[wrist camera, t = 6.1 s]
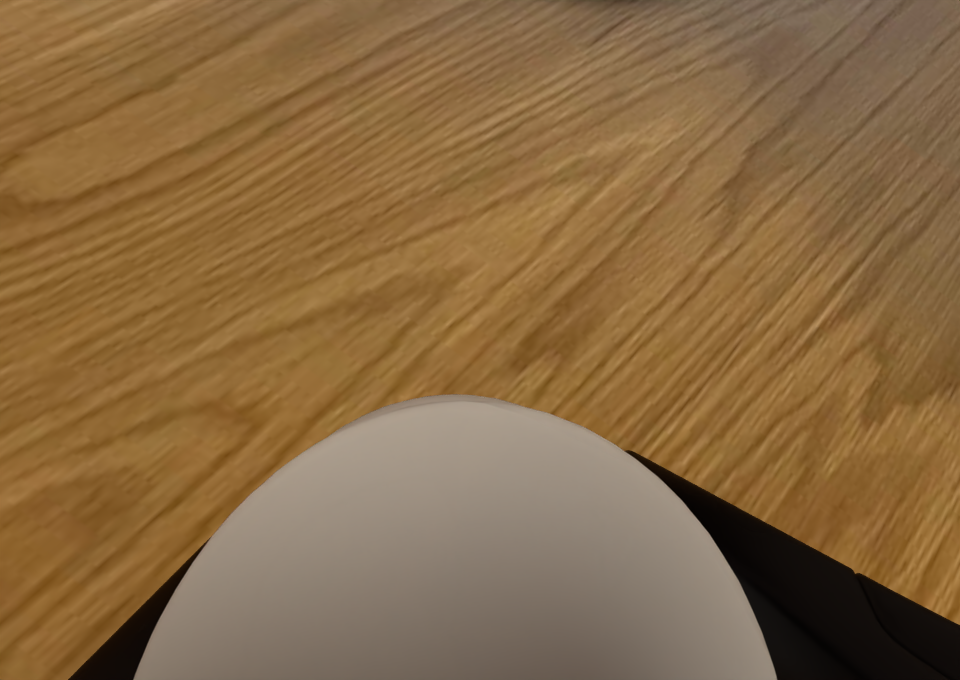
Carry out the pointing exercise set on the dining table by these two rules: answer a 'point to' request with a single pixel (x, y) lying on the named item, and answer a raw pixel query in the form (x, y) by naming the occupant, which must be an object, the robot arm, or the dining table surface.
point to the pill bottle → (459, 563)
